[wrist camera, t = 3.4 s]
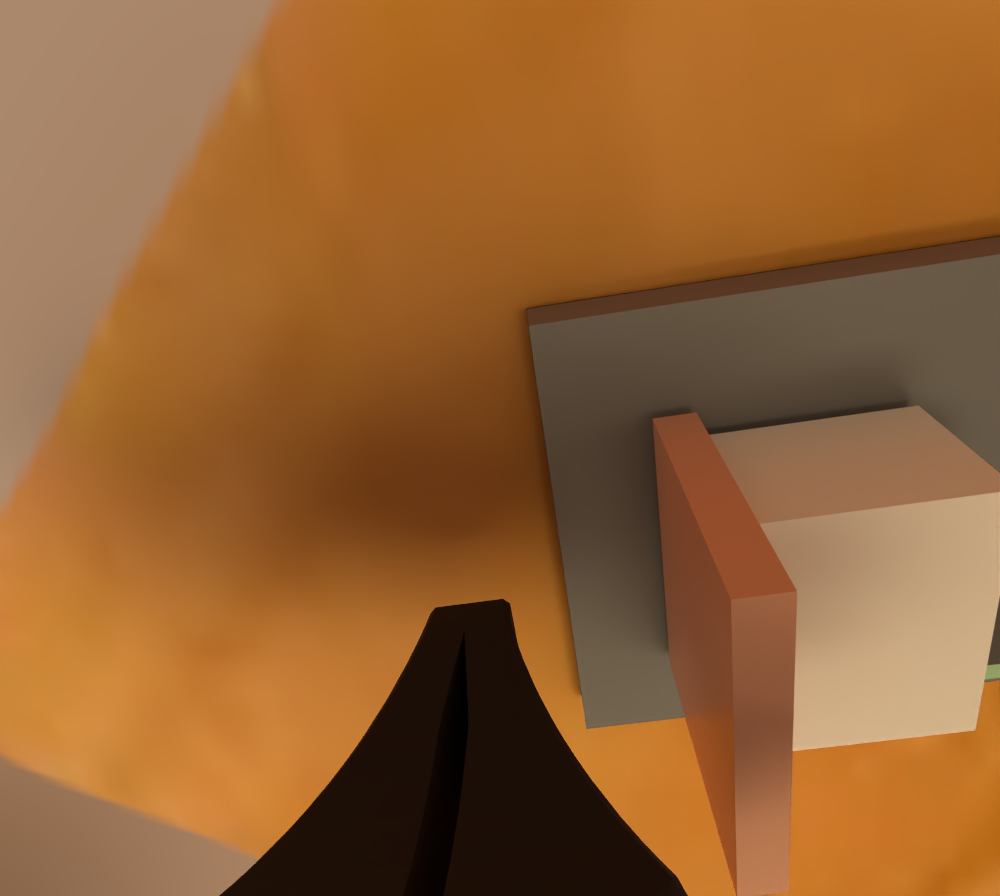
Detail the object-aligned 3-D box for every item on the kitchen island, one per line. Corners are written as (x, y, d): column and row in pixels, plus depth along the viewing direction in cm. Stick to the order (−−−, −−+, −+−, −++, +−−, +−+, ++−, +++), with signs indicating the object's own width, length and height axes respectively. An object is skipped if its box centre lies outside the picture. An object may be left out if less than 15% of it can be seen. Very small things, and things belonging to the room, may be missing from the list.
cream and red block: (967, 373, 14) (1210, 538, 9) (925, 683, 17) (1086, 918, 12) (652, 418, 14) (731, 599, 9) (673, 713, 17) (737, 951, 13)
